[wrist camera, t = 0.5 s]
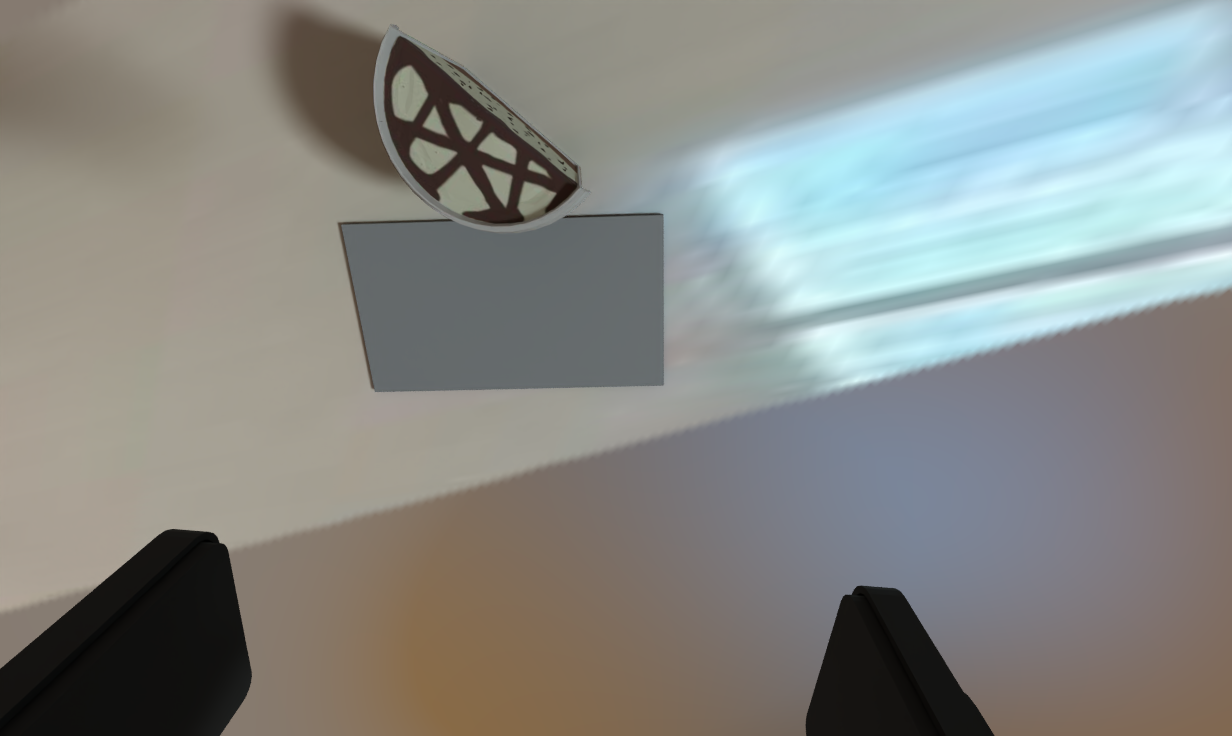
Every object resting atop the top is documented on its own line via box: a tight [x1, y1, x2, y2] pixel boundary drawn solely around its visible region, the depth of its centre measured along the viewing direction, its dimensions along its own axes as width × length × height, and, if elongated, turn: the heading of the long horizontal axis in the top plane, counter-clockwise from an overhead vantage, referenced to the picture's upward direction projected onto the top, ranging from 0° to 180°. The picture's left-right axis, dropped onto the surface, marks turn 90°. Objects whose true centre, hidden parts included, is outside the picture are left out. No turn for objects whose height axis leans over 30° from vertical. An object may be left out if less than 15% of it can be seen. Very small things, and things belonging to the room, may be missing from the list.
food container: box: [373, 24, 591, 233], centre depth 33 cm, size 12×6×10 cm, turn 50°
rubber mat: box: [341, 214, 664, 392], centre depth 42 cm, size 12×22×1 cm, turn 92°
